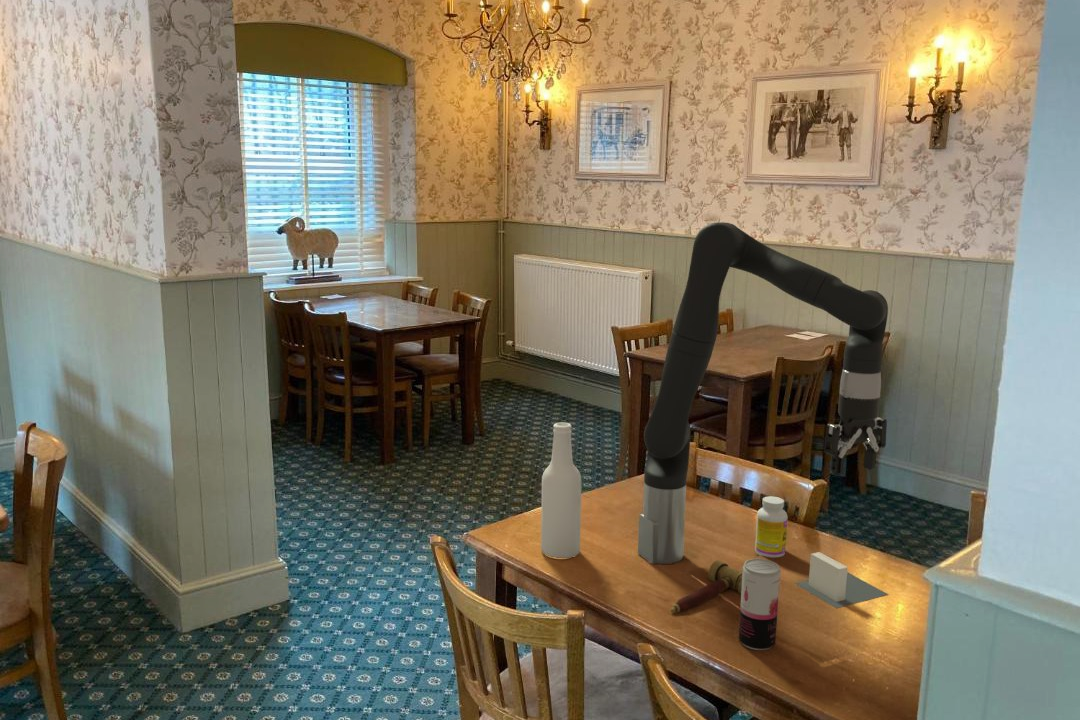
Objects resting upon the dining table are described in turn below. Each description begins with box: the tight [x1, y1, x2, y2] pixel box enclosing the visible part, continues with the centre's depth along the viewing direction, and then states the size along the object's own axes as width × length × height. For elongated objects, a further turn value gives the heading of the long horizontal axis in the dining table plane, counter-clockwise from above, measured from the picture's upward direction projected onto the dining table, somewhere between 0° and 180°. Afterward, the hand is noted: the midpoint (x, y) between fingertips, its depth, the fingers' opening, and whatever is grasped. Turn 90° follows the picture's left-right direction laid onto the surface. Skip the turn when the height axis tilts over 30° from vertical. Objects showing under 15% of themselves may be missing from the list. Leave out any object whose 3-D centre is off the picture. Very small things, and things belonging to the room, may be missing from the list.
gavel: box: [669, 560, 743, 614], centre depth 179 cm, size 21×5×10 cm
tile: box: [808, 551, 848, 602], centre depth 180 cm, size 2×8×7 cm, turn 26°
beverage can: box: [738, 558, 781, 651], centre depth 161 cm, size 7×7×15 cm
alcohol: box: [540, 421, 582, 558], centre depth 197 cm, size 9×9×30 cm
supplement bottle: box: [754, 495, 788, 558], centre depth 199 cm, size 7×7×13 cm
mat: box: [794, 571, 890, 609], centre depth 183 cm, size 14×12×1 cm
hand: (852, 471), depth 177 cm, fingers open, 8 cm apart
